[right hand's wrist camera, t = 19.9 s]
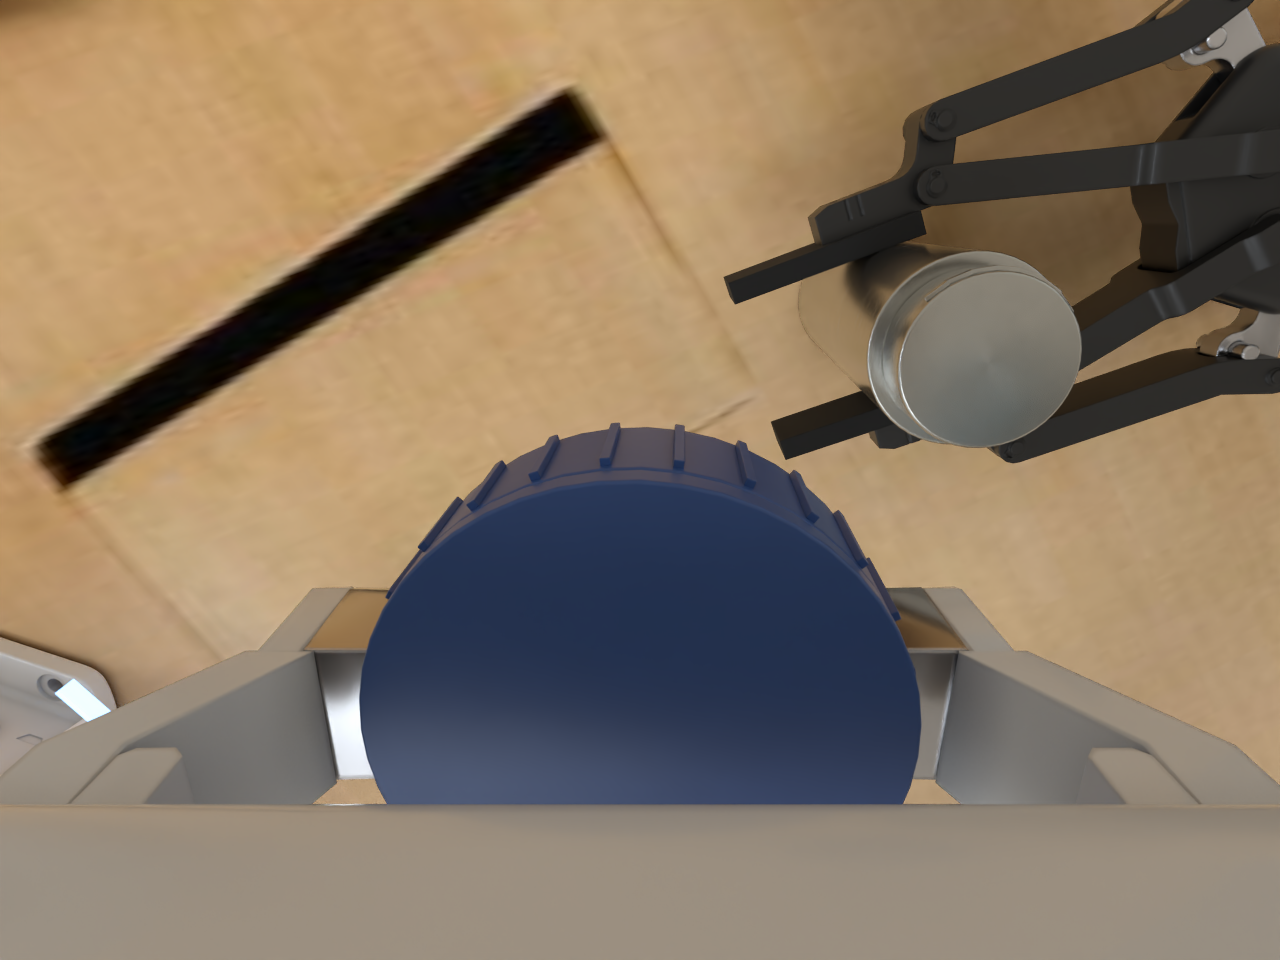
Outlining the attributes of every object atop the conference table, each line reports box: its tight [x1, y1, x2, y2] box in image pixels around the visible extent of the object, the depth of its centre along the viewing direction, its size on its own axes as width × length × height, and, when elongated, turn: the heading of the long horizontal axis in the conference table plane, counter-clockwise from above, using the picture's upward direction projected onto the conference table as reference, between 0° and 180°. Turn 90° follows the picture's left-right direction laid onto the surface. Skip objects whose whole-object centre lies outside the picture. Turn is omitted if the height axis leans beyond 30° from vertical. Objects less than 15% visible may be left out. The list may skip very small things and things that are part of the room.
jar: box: [798, 241, 1082, 448], centre depth 25 cm, size 5×5×15 cm
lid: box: [359, 423, 922, 804], centre depth 9 cm, size 6×6×2 cm
